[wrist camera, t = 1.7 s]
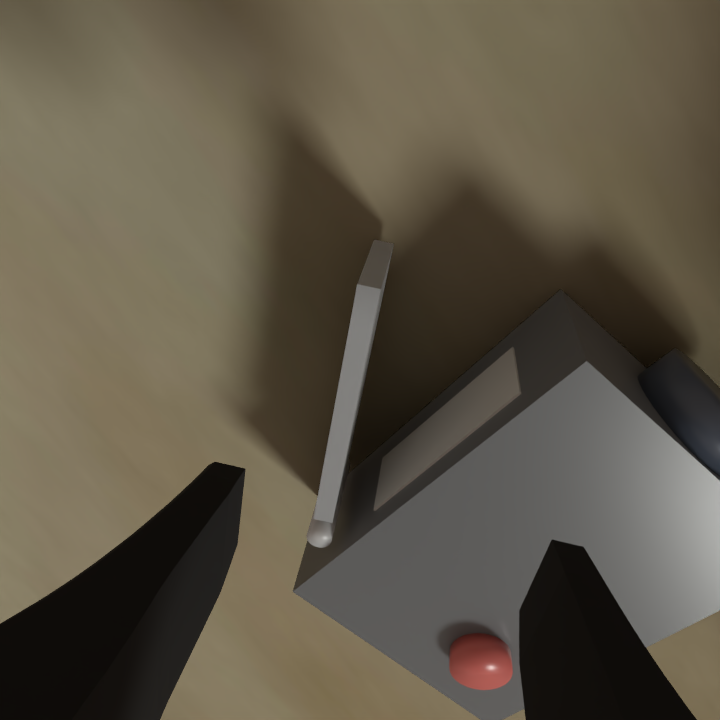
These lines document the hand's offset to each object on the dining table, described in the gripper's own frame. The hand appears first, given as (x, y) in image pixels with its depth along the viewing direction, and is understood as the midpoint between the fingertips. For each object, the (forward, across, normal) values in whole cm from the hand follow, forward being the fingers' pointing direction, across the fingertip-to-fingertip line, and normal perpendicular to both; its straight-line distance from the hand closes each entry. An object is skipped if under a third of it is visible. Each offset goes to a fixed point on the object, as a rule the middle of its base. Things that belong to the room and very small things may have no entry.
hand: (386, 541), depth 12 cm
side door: (+9, +2, +2) cm, 9 cm away
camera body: (+9, -5, +5) cm, 12 cm away
